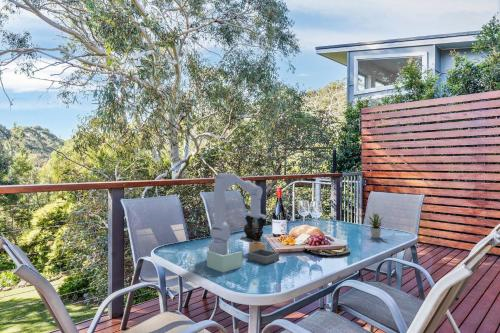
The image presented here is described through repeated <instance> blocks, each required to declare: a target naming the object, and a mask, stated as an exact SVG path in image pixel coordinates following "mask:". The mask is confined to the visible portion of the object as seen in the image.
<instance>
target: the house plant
mask: <svg viewBox="0 0 500 333" xmlns="http://www.w3.org/2000/svg"><path fill="white" fill-rule="evenodd" d="M372 213H373V214H372V215H373V216H372V217H373V218H372V217H371V216H370V215H369V214H366V216H367V218H369V220H366V222H365V223H366V224H367V223H368V222H369V224H370V227H369V230H370V236H371V238H373V239H380V238H381V232H382V227H381V226H384V223H385V221H382V219H383V217H381V218H380V216H379V214H378V212H376V213H374V212H372ZM382 222H383V224H382Z"/></svg>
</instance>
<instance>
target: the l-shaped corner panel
mask: <svg viewBox="0 0 500 333" xmlns="http://www.w3.org/2000/svg"><path fill="white" fill-rule="evenodd" d="M206 267H208V268H210V269H213V270H216V271H218V272H221V273H226V272H230V271H232V270H235V269H238V268H242V267H243V251H242V250H240V251H237V252H236V251H235V252H231V253H227V255H224V256H223V255H220V254H217V253H214V252H211V251H209V250H207V251H206Z"/></svg>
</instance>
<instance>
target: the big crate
mask: <svg viewBox="0 0 500 333" xmlns="http://www.w3.org/2000/svg"><path fill="white" fill-rule="evenodd" d="M247 260H248V261H251V262H255V263H260V264H264V265H269V264H271V263H273V262H277V261H279V260H280V252H276V251H272V250H267V249H265V250H264V249H258V250H255V251H252V252H247Z"/></svg>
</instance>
